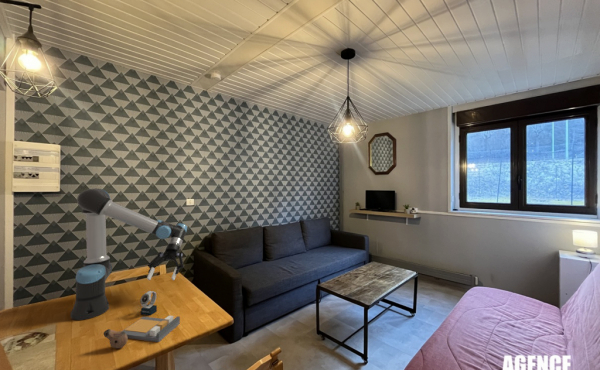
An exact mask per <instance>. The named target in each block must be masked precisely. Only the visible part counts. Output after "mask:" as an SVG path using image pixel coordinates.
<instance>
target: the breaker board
mask: <svg viewBox="0 0 600 370" xmlns="http://www.w3.org/2000/svg"><path fill="white" fill-rule="evenodd" d="M180 323H181V317H180V316H176V317H175V318H174V315H168V316H167V317H165V318H161V317H160V318H157V317H151V316H142V317H140V318H138V319H137V320H136V321H135V322H133V323H131V325H129V326H127V327H126V328H124V329H123V330H122V331H123V332H125V333H126V335H127V337H128V339H131V340H141V341H148V342H153V343H154V342H156V343H159V342H161V341H162V340H163V339H164V338H165V337H167V336H168V335H169V334H170V333H171V332H172V331H174V329H176V328H177V327H178V326H180Z"/></svg>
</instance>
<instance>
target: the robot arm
mask: <svg viewBox="0 0 600 370" xmlns="http://www.w3.org/2000/svg"><path fill="white" fill-rule="evenodd" d="M76 202H77V205H78V206H79V207H80V208H81V212H82V215H85V230H86V231H85V232H86V235H85V237H86V259H84V260H83V267H81V268H80V269H78V270H77V271H76V275H75V302H74V304H73V308H72V310H71V312H70V319H71V320H74V321H83V320H88V319H92V318H96V317H98V316H101V315H102V314H105V313H106V312H107V311H108V310H109V309H110V304H109V301H108V298H107V296H106V281H107V279H108V277H110V275H111V273H112V269H113V267H112V264H111V257H110V256H109V255H108V254H107V227H106V226H107V225H106V221H107V220H106V219H107V218H106V216H107V217H109V218H112V219H114V220H117V221H119V222H121V223H124V224H126V225H129V226H132V227H133V228H134V227H135V228H136V229H139V230H142V231H144V232H146V233H148V234H149V233H150V234H151V235H154V236H156V237H157V238H158V239H161V240H165V239H167V238H169V237H170V239H169V241H168V243H167V246H166V248H165V251H164V252H162V251H159V252H158V254H157V255H156V256H155V257H154V258H153V259H152V260H151V261H150V262H149V263H148V264H147V267H148V268H149V269H148V272H147V273H148V275H147V277H146V279H147V281H151V279H152V277H153V274H154V272H155V270H156V268H157V267H158V266H159V265H160V264H162V263H164V262H165V261H166V262H167V261H169V262H170V261H171V262H172V261H173V263H174V264H175V266H176V267H175V268H174V271H173V273H172V275H171V280H172V281H175V279H176V277H177V275H178V274H179V273H180V269H184V267H185V265H184V260H183V257H184V255H183V252H182V251H180V249H181V246H182V244H183V242H184V239H185V237H186V234H187V231H188V225H186V224H184V223H177V224H173V223H169V222H166V221H164V220H161V219H157V220H155V219H153V218H150V217H148V216H147V215H144V214H141V213H139V212H137V211H134V210H132V209H130V208H128V207H126V206H123V205H121V204H118V203H116V202H113V199H112V198H110V194H109V193H108V192H107V191H106V190H104V189H102V188H89V189H85V190H83V191H81V192H80V193H79V194H78V195H77V198H76ZM177 257H178V258H179V259H178V260H179V263H178V260H177V259H176V258H177Z"/></svg>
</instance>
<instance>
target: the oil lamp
mask: <svg viewBox="0 0 600 370" xmlns="http://www.w3.org/2000/svg"><path fill="white" fill-rule="evenodd" d="M103 336H104V338H107V339H108V341H109V345H110V347H111V348H114V349H121V348H123V347H125V346H126V345H127V343H128V340H129V338H128V337H127V335H126V333H125V332H123V330H119V331H116V330H114V329H109V328H108V329H106V330H105V331H103Z"/></svg>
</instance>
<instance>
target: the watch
mask: <svg viewBox="0 0 600 370" xmlns="http://www.w3.org/2000/svg"><path fill="white" fill-rule="evenodd" d="M139 300H140V305H141V308H140V313H141V314H140V315H144V316H148V317H151V316H152V315H153V314H155V313H157V311H158V309H157V308H158V306H157V304H155V303H156V300H157V292H156V291H151V290H148V291H146V292H145V293H144V294H142V295H141V297H140V299H139ZM148 303H149V304H148Z"/></svg>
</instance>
